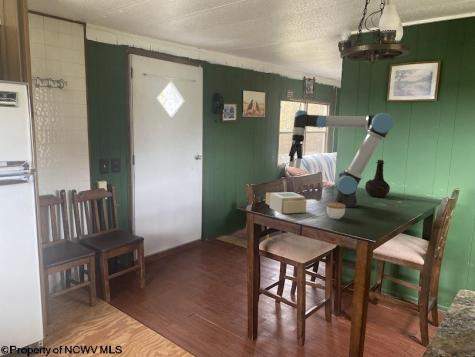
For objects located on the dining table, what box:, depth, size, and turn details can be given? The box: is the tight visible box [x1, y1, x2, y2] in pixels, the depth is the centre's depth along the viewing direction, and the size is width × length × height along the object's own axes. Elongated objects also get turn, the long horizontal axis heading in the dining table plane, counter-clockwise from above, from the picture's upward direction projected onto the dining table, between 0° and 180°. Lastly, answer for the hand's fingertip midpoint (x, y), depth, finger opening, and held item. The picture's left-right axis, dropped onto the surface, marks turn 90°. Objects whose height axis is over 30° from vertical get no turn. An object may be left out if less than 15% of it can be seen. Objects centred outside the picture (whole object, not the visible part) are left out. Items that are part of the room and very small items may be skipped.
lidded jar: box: [326, 202, 347, 220], centre depth 210 cm, size 11×11×9 cm
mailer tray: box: [265, 191, 308, 214], centre depth 225 cm, size 26×14×7 cm, turn 23°
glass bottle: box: [364, 159, 391, 198], centre depth 277 cm, size 18×18×28 cm
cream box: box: [269, 191, 306, 214], centre depth 223 cm, size 14×16×10 cm
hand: (294, 167), depth 233 cm, fingers open, 13 cm apart
